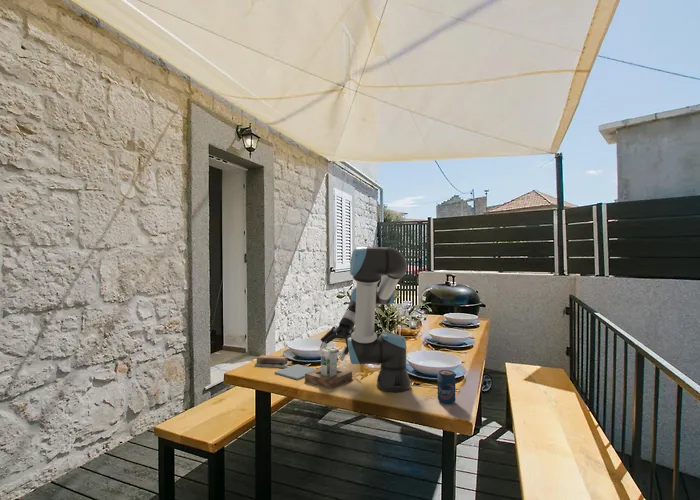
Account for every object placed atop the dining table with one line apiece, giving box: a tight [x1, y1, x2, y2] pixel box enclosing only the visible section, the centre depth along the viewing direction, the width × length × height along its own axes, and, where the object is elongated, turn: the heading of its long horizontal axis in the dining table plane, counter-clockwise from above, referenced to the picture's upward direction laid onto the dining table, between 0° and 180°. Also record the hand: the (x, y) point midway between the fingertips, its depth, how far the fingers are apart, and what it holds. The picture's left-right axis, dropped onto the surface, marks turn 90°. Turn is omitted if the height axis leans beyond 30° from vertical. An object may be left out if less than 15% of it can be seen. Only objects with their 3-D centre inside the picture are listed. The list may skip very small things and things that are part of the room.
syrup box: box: [320, 347, 338, 377], centre depth 167 cm, size 6×6×14 cm
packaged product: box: [254, 354, 293, 369], centre depth 191 cm, size 18×5×10 cm
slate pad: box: [274, 363, 317, 381], centre depth 178 cm, size 16×16×1 cm
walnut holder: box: [304, 367, 353, 389], centre depth 167 cm, size 16×16×4 cm
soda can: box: [437, 369, 456, 406], centre depth 141 cm, size 7×7×12 cm
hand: (329, 357), depth 169 cm, fingers open, 13 cm apart
